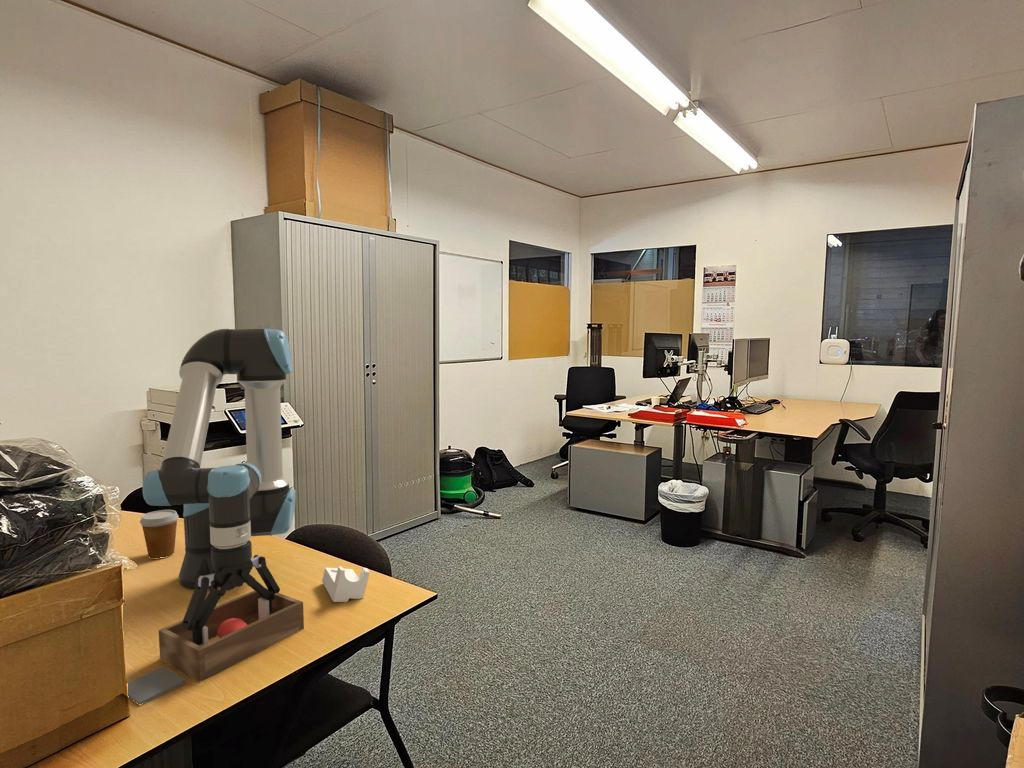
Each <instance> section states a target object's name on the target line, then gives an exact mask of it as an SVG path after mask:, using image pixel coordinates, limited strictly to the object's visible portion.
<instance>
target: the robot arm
mask: <svg viewBox="0 0 1024 768" xmlns="http://www.w3.org/2000/svg"><path fill="white" fill-rule="evenodd" d="M292 372H293V359H292V352H291V349H290V343H289V340H288V337H287V335H286V334H285V332H284V331H282V330H280V329H273V328H234V329H233V328H220V329H215V330H213V331H210V332H209V333H206V334H205V335H203V336H201V337H200V338H199V339H198V340H197V341H196V342H194V343H193V344H192V345H191V347H189V349H188V350H187V352H186V353H185V355H184V357H183V358H182V361H181V364H180V368H179V372H178V373H179V377H180V378H181V382H180V387H179V392H178V395H177V400H176V403H175V408H174V412H173V416H172V420H171V423H170V428H169V432H168V435H167V436H168V437H167V440H166V443H165V444H166V445H165V449H164V453H163V457H162V462H161V465H160V469H155V470H149V471H148V472H147V473H146V475H145V476H144V477H143V481H142V496H143V499H144V501H145V503H146V504H147V505H149V506H158V507H163V506H165V507H171V506H175V505H179V506H180V505H183V512H182V517H183V529H184V543H185V544H184V546H185V554H184V557H183V560H182V563H181V566H180V571H179V574H178V583H179V586H180V587H182V588H184V589H186V590H187V589H188V590H193V592H192V596H191V599H190V601H189V603H188V606H187V609H186V611H185V614H184V616H183V618H182V620H183V621H182V620H181V621H182V624H181V626H182V627H183V628H185V629H187V630H190V631H191V630H192V634H193V643H194V644H196V645H198V646H200V647H202V646H204V645H206V644H208V643H209V640H208V627H206V626H204V625H205V623H206V622H207V620H208V618H209V617H210V615H211V613H212V611H213V610H214V608H215V606H218V603H219V601H220V600H221V598H222V597H223V596H224V595H225V594H226V592H227V591H229V592H230V591H232V590H234V589H235V588H239V587H242V586H244V583H245V584H246V585H247V586H249V587H250V588H251V589H253V590H252V591H254V590H255V591H256V592H257V593H258V594H260V595H261V596H262V597H263V598H259V599H258V612H259V617H258V620H260V619H262V618H264V617H267V616H269V613H270V612H272V600H274V599H275V595H274V594H275V593H280V591H281V588H280V587H279V585H278V583H277V581H276V579H275V578H274V576H273V574H272V573H271V571H270V569H269V568H268V566H267V562H266V561H267V560H266V557H265V556H262V555H259V554H255V555H254V556H253V549H252V548H253V547H252V541H251V539H252V537H262V536H270V537H272V536H275V535H277V536H278V535H283V534H286V533H288V532H289V531H290V529H291V527H292V524H293V520H294V514H295V509H296V508H295V507H296V498H297V496H296V493H297V491H296V489H294V488H290V481H289V480H287V479H286V478H285V477H284V476H283V442H282V441H283V440H282V436H283V435H282V409H281V408H282V405H281V404H282V401H281V399H282V398H281V386H283V384H285V383H286V381H287V375H289V374H292ZM224 375H237V382H238V383H239V384H240V385H241V386H242V387H243V389H244V406H245V407H244V409H245V411H244V412H245V437H246V438H245V439H246V440H245V443H246V445H245V446H246V462H240V463H237V464H231V465H230V464H229V465H224V466H223V465H222V466H219V467H207V468H206V467H205V468H204V467H201V463H202V459H203V453H204V449H205V443H206V438H207V436H208V435H207V433H208V430H209V424H210V421H211V420H210V419H211V413H212V409H213V404H214V400H215V394H216V391H217V390H216V389H217V386H219V384H221V383H222V382H223V378H224ZM252 557H253V558H252ZM253 568H255V570H256V572H257V573H258V575H259V576H260V578H261V580H262V581H263V583H264V585H265V586H266V587H265V586H264V585H262V584H261V583H260V582H259V581H257V580H256V578H255V577H254V576H253V575H252V574H251V571H252V570H253ZM218 588H219V589H218ZM266 588H267V589H266ZM208 591H209V592H208Z"/></svg>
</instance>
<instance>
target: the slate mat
mask: <svg viewBox="0 0 1024 768" xmlns="http://www.w3.org/2000/svg"><path fill="white" fill-rule="evenodd" d="M127 683H128V696H129V698H128V699H129V700H130V699H131V700H130V701H132V700H134V701H135V702H137V703H138V704H142V703H145V702H147V703H148V701H149V702H150V700H151V701H153V700H155V699H157V698H158V697H160V696H163V695H165V694H166V693H169V692H170V691H172V690H175V689H177V688H179V687H180V686H182V685H184V684H187V679H186V678H185V677H183V676H180V674H177V673H176V672H174V671H173V670H170V669H169V668H167V667H165V666H160V667H158V668H156V669H154V670H151V671H150V672H147V673H145V674H143V675H141V676H138V677H137V678H135V679H133V680H130V681H128V682H127ZM135 702H134V703H135ZM138 704H137V705H138ZM145 704H146V703H145Z"/></svg>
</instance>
